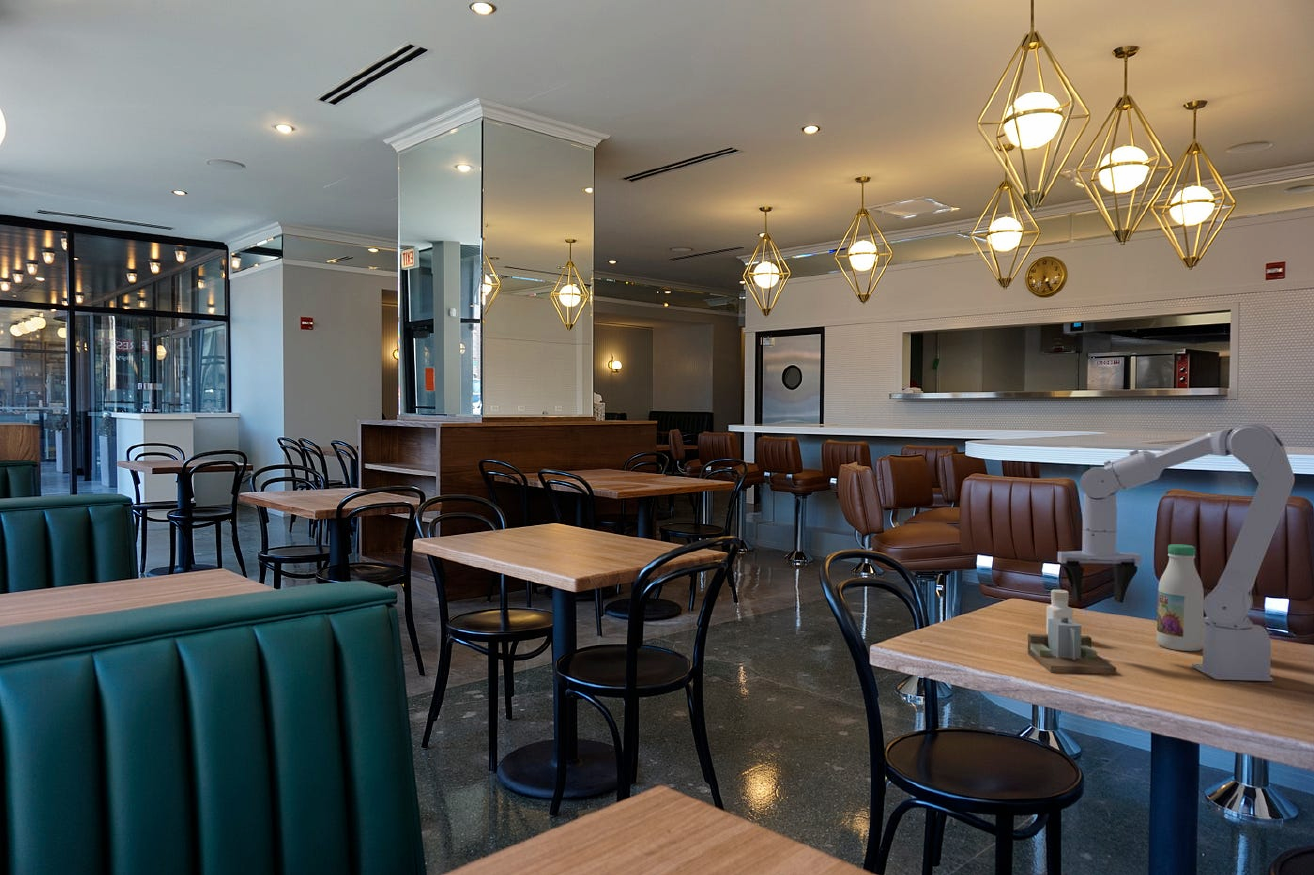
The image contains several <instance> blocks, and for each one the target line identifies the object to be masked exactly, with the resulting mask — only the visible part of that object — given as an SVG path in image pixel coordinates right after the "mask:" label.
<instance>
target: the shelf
mask: <svg viewBox="0 0 1314 875" xmlns="http://www.w3.org/2000/svg"><path fill="white" fill-rule="evenodd" d="M1027 654H1028V655H1029V656H1031V657H1032V658H1033V659H1034V660H1035V661H1036V660H1037V661H1036V662H1037V663H1039V664H1041V665H1042V667H1043V668H1045V669H1046V670H1047V671H1049V673H1062V674H1063V673H1065V674H1089V673H1101V674H1100V675H1117V667H1116V666H1114V665H1113V664H1111V662H1108V661H1107V660H1106V659H1104V658H1103V657H1101V656H1099V655H1098V651H1097V650H1095V649H1094V648H1092V637H1091V636H1090V635H1081V659H1075V660H1073V659H1072V658H1057V657H1056V656H1055V655H1053V654H1052V653H1051V650H1050V649H1049V648H1048V635H1047V634H1040V633H1039V634H1038V633H1037V634H1036V633H1032V634H1031V633H1027Z"/></svg>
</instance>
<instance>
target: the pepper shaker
mask: <svg viewBox="0 0 1314 875" xmlns="http://www.w3.org/2000/svg"><path fill="white" fill-rule="evenodd" d="M1069 594H1070V593H1069V591H1068V590H1065V589H1052V590H1051V591H1050V600H1051V604H1050V605H1047V606H1046V616H1045V618H1046V621H1045V622H1046V626H1045V627H1046V628H1045V630H1046V631H1045V632H1046V633H1045V634H1046V635H1048V619H1061V617H1066V618H1068V619H1071V620H1073V619H1074V618H1073V616H1074V615H1073V609H1072V608H1071V607H1070V606H1069ZM1073 621H1074V620H1073Z"/></svg>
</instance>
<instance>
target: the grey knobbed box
mask: <svg viewBox="0 0 1314 875" xmlns="http://www.w3.org/2000/svg"><path fill="white" fill-rule="evenodd" d="M1081 636H1082V625H1081V624H1079V623H1077V622H1075V621H1074V620H1071V619H1068V618H1066V617H1061V619H1048V648H1049V649H1050V650H1051V653H1052V654H1053V655H1055V656H1056V657H1057V658H1072V659H1073V660H1075V659H1081Z"/></svg>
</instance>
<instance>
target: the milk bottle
mask: <svg viewBox="0 0 1314 875" xmlns="http://www.w3.org/2000/svg"><path fill="white" fill-rule="evenodd" d="M1167 553H1168V554H1167V556H1168V562H1167V566H1166V568H1165V569H1164V571H1163V573H1162V575H1161V577H1160V579H1159V583H1158V591H1157V592H1158V593H1157V617H1156V618H1157V620H1156V621H1157V623H1156V624H1157V625H1156V643H1157V644H1158V646H1160V647H1163V648H1167V649H1171V650H1175V651H1183V652H1197V651H1201V650H1203V627H1204V617H1205V616H1204V614H1205V611H1204V608H1203V603H1204V599H1205V597H1204V596H1205V595H1204V594H1205V593H1204V592H1205V591H1204V587H1203V582H1202V580H1201V578H1200V575H1199V574H1198V571H1197V568H1196V565H1195V558H1196V546H1193V545H1190V544H1189V545H1188V544H1178V543H1177V544H1176V543H1175V544H1173V543H1172V544H1168V546H1167Z"/></svg>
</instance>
